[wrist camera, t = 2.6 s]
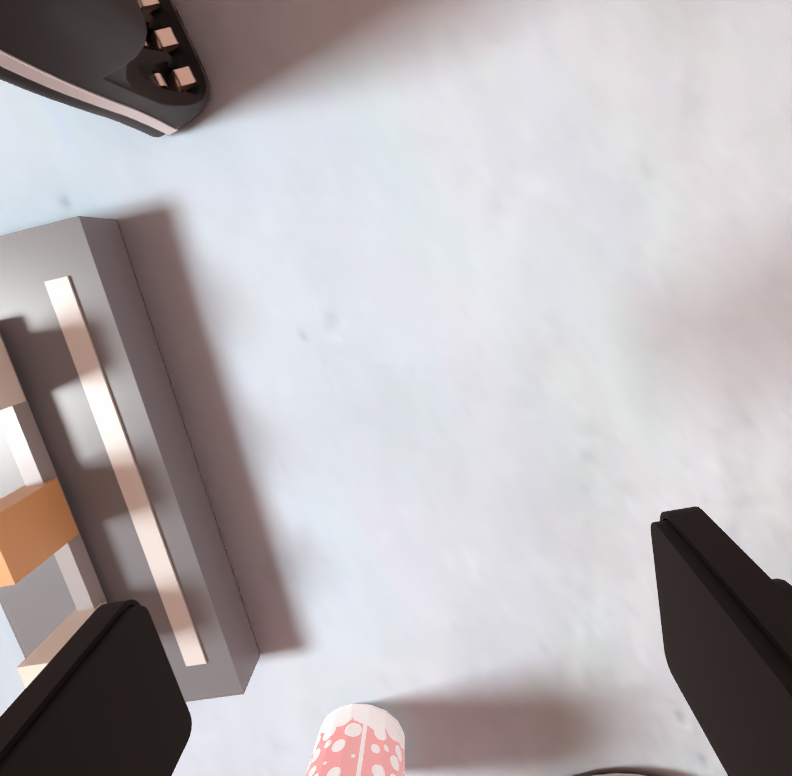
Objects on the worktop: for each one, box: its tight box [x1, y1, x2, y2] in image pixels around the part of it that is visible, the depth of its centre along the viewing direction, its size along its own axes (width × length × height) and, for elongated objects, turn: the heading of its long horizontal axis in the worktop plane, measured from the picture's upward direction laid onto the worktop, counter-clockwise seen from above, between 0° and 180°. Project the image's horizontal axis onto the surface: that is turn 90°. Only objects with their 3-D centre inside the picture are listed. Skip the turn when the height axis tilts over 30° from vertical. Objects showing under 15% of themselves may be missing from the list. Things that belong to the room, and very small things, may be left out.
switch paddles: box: [0, 334, 107, 688], centre depth 21 cm, size 1×16×4 cm, turn 13°
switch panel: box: [0, 216, 260, 702], centre depth 24 cm, size 10×22×3 cm, turn 13°
